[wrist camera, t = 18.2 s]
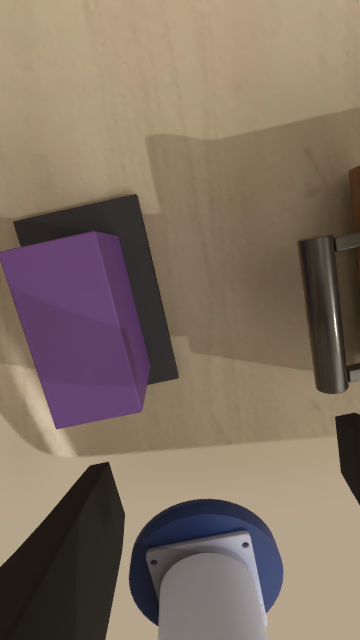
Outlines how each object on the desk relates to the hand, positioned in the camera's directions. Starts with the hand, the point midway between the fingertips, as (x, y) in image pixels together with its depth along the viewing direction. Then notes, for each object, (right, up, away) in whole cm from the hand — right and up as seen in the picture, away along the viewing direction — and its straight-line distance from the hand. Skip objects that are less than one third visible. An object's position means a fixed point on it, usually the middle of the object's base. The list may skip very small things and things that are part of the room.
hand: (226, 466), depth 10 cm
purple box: (-6, +5, +9) cm, 12 cm away
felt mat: (-6, +6, +9) cm, 12 cm away
